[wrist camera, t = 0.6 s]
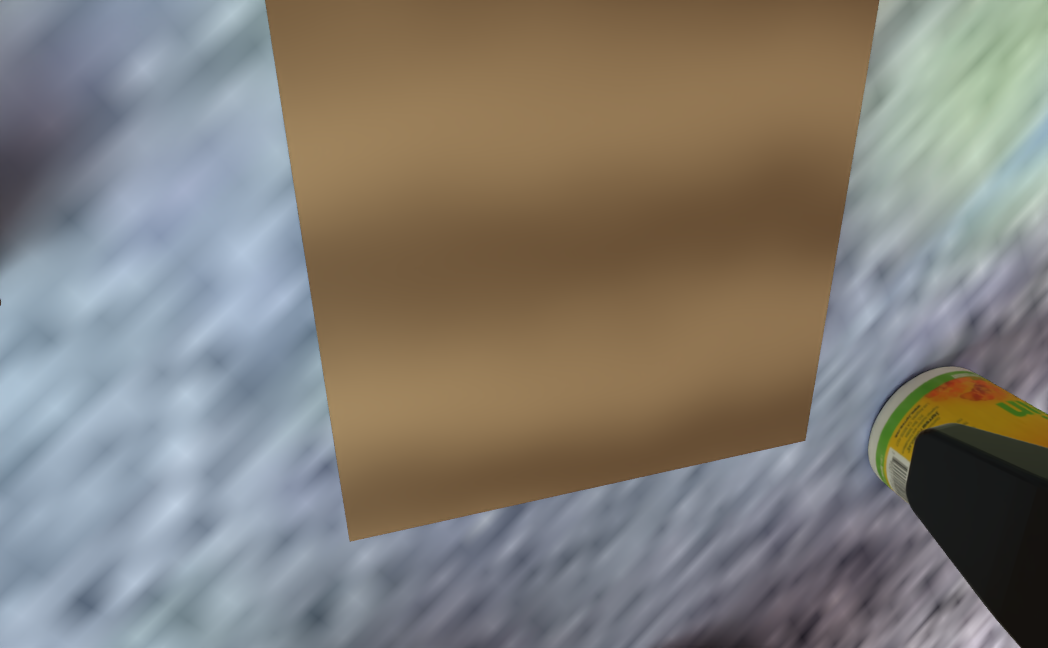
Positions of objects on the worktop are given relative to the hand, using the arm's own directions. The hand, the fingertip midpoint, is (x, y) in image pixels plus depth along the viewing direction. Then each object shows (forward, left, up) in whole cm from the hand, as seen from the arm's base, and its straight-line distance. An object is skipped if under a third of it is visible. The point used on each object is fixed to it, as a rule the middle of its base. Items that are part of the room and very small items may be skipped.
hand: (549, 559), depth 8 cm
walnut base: (-1, -5, -14) cm, 15 cm away
